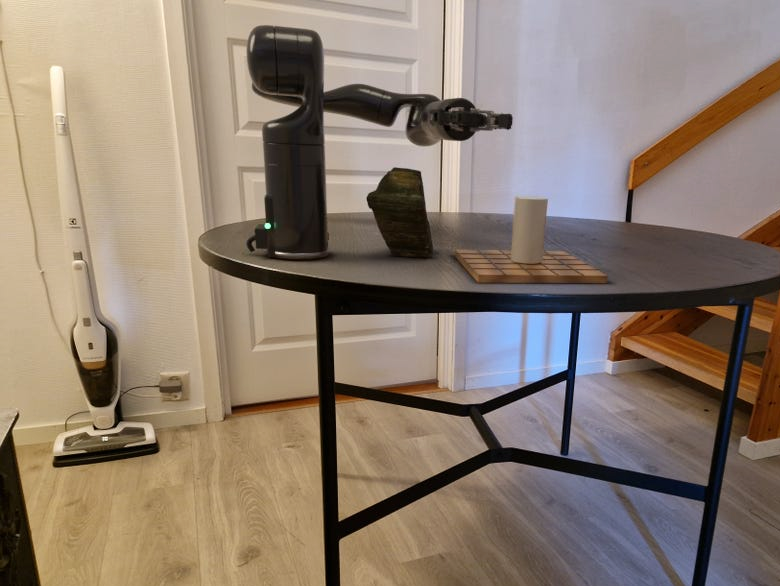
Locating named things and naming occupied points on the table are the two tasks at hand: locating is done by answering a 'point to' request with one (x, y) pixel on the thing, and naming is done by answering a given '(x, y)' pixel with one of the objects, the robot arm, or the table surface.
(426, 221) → the rock
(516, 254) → the white tin can
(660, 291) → the table surface
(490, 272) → the board
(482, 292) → the table surface
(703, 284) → the table surface
